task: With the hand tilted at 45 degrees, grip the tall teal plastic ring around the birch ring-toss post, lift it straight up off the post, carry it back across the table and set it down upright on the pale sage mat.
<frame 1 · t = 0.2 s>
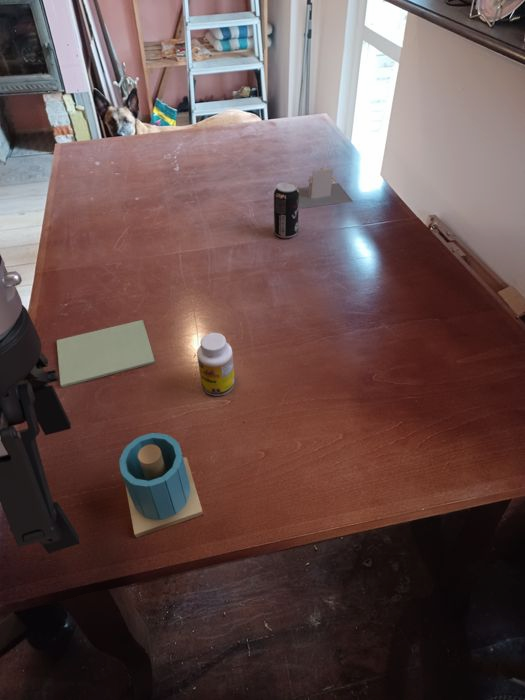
hand: (60, 481, 48), 17 cm above the table, tool pointing down, fingers open, 13 cm apart
supplement bottle: (218, 385, 80), on the table
architectural model: (319, 196, 129), on the table
beverage can: (285, 234, 115), on the table
ring: (161, 493, 65), point 1 cm above the table, touching stand
mat: (105, 352, 86), on the table
stand: (163, 496, 66), on the table
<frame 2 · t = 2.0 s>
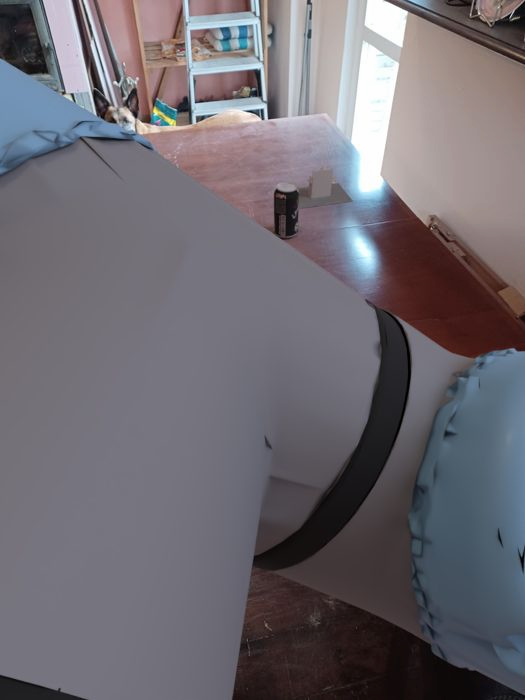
hand: (173, 441, 42), 25 cm above the table, tool tilted 45°, fingers open, 13 cm apart
nothing on the table moved.
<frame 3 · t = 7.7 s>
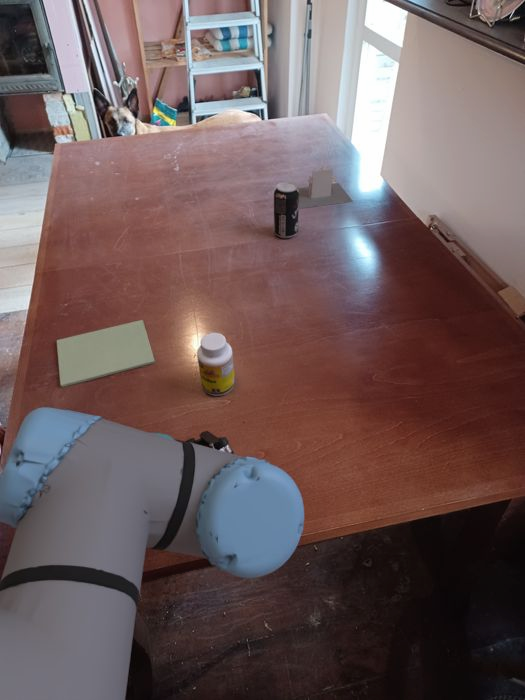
hand: (146, 464, 65), 4 cm above the table, tool tilted 45°, fingers closed on ring, 8 cm apart
ring: (162, 493, 65), point 1 cm above the table, touching gripper, stand
everything else where it was.
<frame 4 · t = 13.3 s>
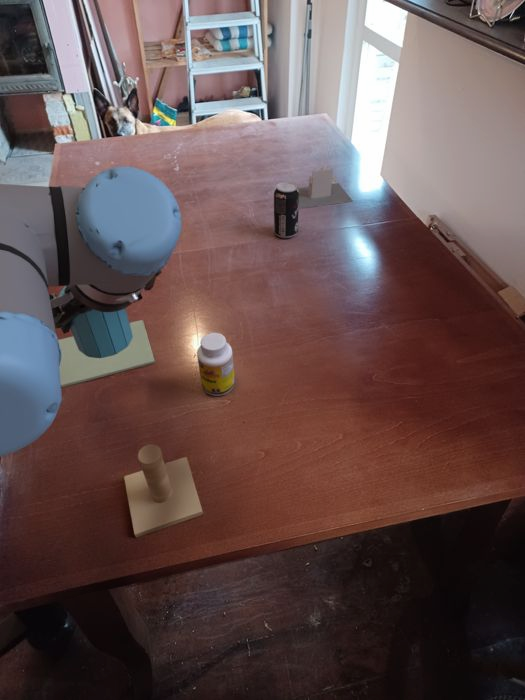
hand: (90, 312, 68), 17 cm above the table, tool tilted 45°, fingers closed on ring, 8 cm apart
ring: (105, 339, 68), point 14 cm above the table, touching gripper
everything else where it was.
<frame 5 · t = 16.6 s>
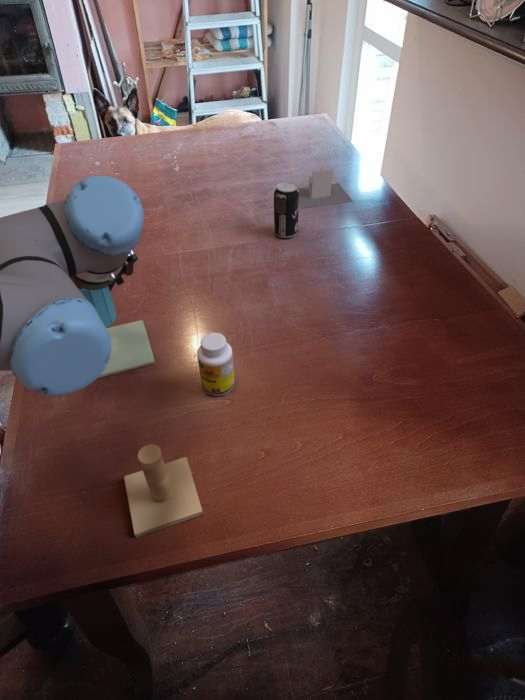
hand: (81, 295, 81), 11 cm above the table, tool tilted 45°, fingers closed on ring, 8 cm apart
ring: (93, 317, 81), point 8 cm above the table, touching gripper
everything else where it was.
when the fingers open (3 cm above the table, at t = 19.1 s): ring stays where it is, resting on mat.
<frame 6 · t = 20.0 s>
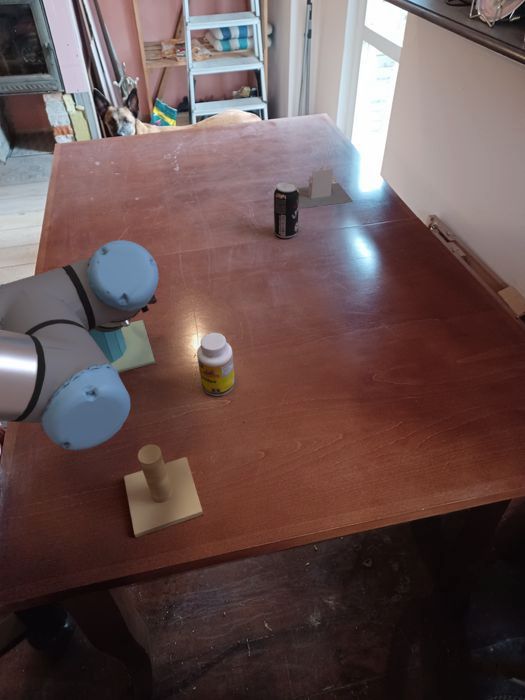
hand: (93, 327, 84), 5 cm above the table, tool tilted 45°, fingers open, 13 cm apart
ring: (104, 350, 86), point 1 cm above the table, touching mat
everything else where it was.
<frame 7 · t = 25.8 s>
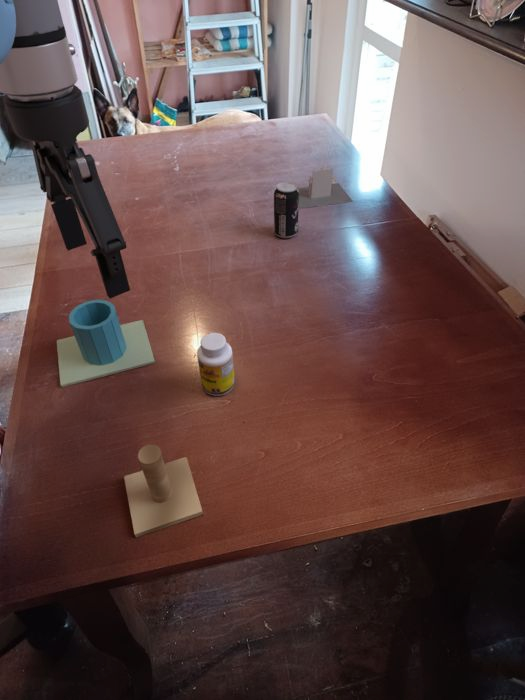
hand: (96, 268, 62), 25 cm above the table, tool pointing down, fingers open, 13 cm apart
nothing on the table moved.
at the end: ring inside the target area on the mat (0.1 cm from its centre), point 0.6 cm above the mat's base; ring tilted 0°; ring moved 32.3 cm from its start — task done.
